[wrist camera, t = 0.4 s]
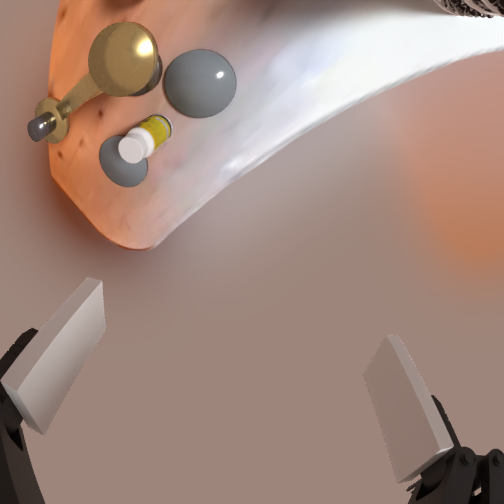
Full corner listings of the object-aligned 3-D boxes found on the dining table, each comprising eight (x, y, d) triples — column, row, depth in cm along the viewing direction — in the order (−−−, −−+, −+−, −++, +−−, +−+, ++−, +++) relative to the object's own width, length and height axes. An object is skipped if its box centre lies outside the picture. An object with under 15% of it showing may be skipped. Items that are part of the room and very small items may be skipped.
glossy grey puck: (157, 66, 32) (154, 67, 32) (220, 38, 28) (218, 38, 28) (183, 124, 38) (181, 126, 38) (246, 104, 35) (245, 106, 34)
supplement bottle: (158, 107, 37) (126, 127, 31) (179, 127, 39) (151, 151, 33) (141, 127, 40) (110, 150, 34) (161, 146, 42) (134, 172, 36)
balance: (75, 85, 35) (2, 126, 24) (207, 7, 25) (133, 3, 14) (94, 122, 40) (26, 171, 29) (228, 58, 30) (168, 81, 19)
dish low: (93, 146, 44) (91, 148, 43) (131, 127, 40) (128, 128, 39) (118, 190, 50) (116, 192, 49) (157, 177, 46) (155, 179, 45)
